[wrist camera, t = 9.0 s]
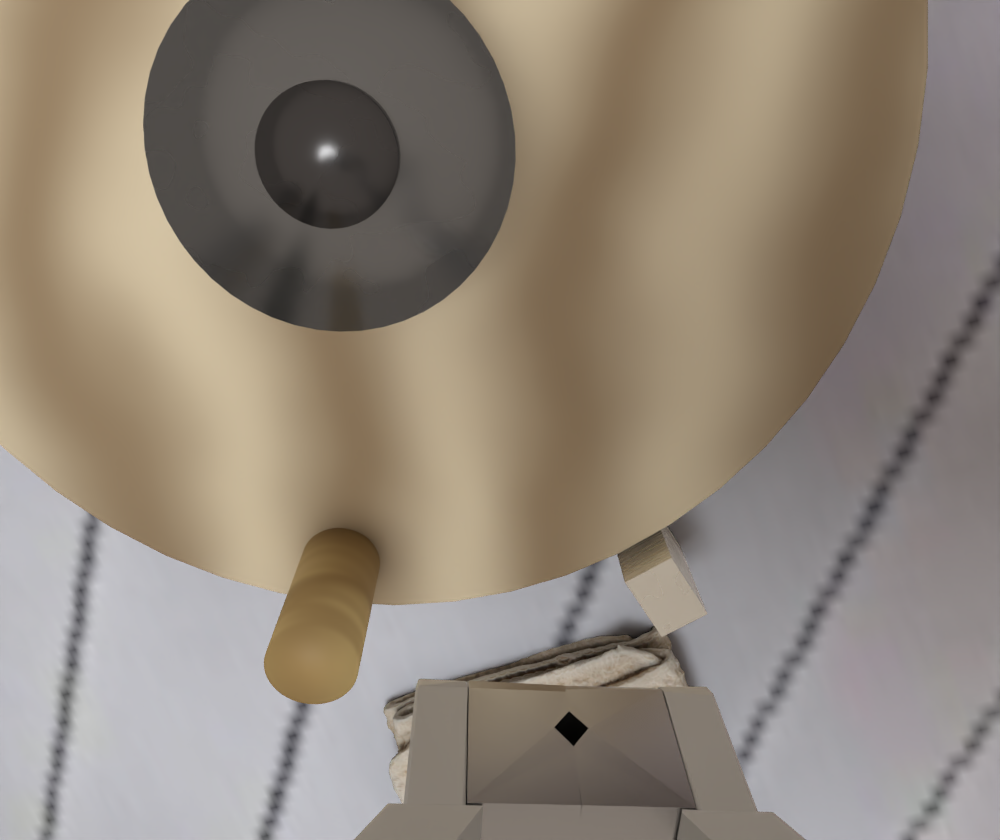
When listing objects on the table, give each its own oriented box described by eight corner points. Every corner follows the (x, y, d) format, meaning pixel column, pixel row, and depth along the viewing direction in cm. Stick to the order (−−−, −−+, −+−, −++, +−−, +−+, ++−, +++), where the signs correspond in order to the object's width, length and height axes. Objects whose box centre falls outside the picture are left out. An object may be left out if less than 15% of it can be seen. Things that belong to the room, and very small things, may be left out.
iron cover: (536, -4, 21) (548, -19, 17) (484, 315, 24) (485, 362, 20) (198, -66, 20) (131, -96, 16) (190, 269, 23) (132, 310, 19)
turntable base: (970, -350, 21) (1075, -439, 17) (715, 576, 31) (747, 645, 27) (-151, -564, 19) (-305, -715, 15) (-34, 493, 29) (-108, 556, 25)
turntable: (1069, -435, 19) (1341, -666, 13) (753, 619, 30) (822, 761, 24) (-272, -699, 17) (-686, -1115, 11) (-92, 529, 28) (-252, 660, 22)
